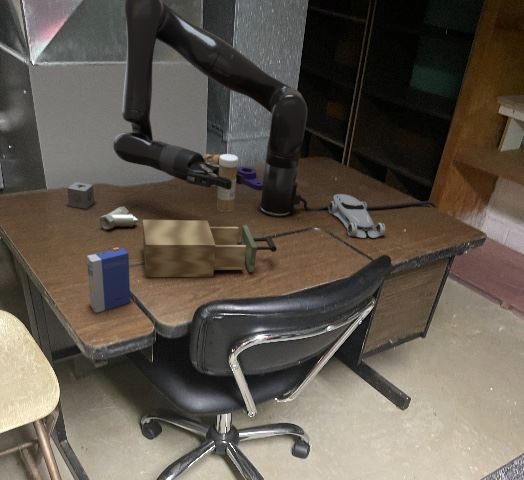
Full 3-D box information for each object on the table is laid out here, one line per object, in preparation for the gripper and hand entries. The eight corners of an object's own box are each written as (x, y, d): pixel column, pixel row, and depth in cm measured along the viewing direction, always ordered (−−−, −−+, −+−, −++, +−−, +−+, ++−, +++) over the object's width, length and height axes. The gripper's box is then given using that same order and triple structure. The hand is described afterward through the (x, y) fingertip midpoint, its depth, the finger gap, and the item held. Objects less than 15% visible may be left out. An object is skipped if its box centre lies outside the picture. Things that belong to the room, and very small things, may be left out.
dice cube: (94, 202, 157) (92, 185, 154) (86, 209, 153) (85, 191, 150) (77, 199, 157) (75, 181, 154) (69, 205, 153) (67, 188, 150)
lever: (232, 177, 185) (233, 167, 183) (248, 175, 188) (249, 165, 186) (253, 190, 177) (254, 180, 175) (269, 188, 180) (270, 178, 179)
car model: (350, 239, 156) (353, 222, 153) (322, 203, 175) (324, 188, 172) (386, 238, 159) (390, 222, 156) (354, 204, 178) (358, 189, 175)
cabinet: (205, 250, 141) (207, 220, 136) (213, 276, 131) (215, 244, 126) (143, 250, 137) (142, 219, 132) (146, 277, 127) (145, 244, 122)
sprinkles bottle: (226, 204, 145) (230, 152, 137) (237, 211, 142) (242, 158, 134) (212, 207, 142) (215, 154, 134) (223, 214, 140) (226, 160, 131)
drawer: (266, 249, 144) (269, 225, 140) (277, 271, 135) (280, 247, 131) (187, 248, 139) (188, 224, 135) (193, 272, 130) (194, 247, 126)
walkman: (123, 296, 120) (121, 245, 113) (130, 302, 118) (128, 251, 111) (89, 306, 115) (84, 254, 108) (95, 313, 114) (91, 260, 107)
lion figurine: (211, 186, 176) (213, 157, 171) (196, 182, 177) (197, 154, 172) (228, 172, 188) (230, 145, 182) (213, 169, 189) (215, 142, 183)
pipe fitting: (139, 226, 149) (118, 217, 150) (140, 212, 146) (118, 204, 148) (121, 236, 143) (99, 227, 144) (121, 223, 140) (99, 213, 142)
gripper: (163, 154, 135) (220, 174, 129) (199, 142, 146) (254, 161, 139) (163, 184, 140) (218, 205, 134) (198, 171, 150) (251, 190, 144)
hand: (236, 182), depth 136 cm, fingers closed on sprinkles bottle, 4 cm apart
